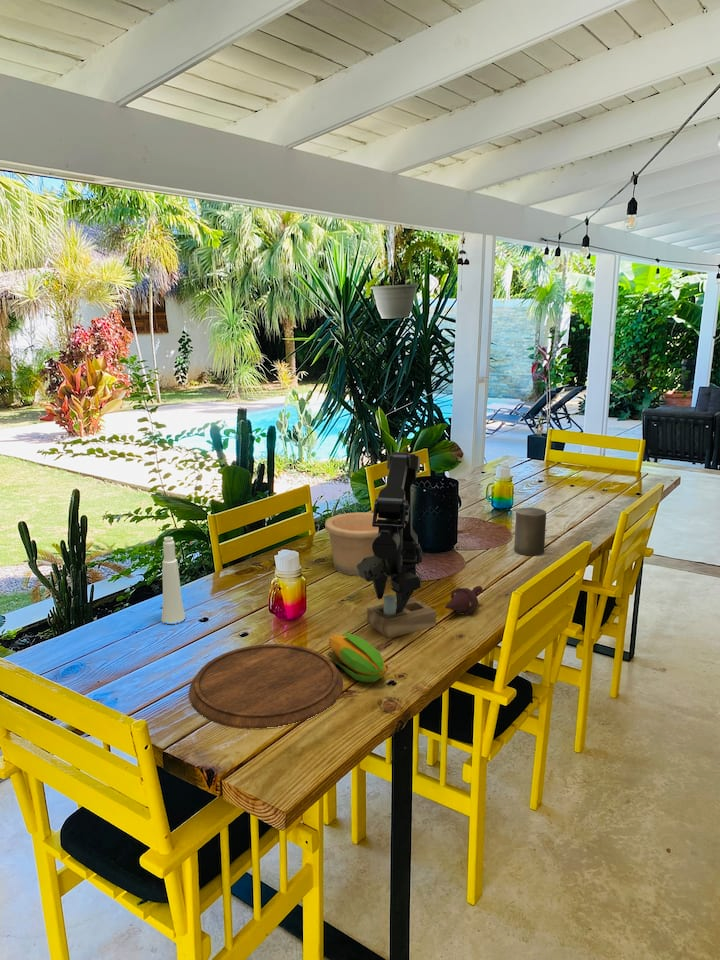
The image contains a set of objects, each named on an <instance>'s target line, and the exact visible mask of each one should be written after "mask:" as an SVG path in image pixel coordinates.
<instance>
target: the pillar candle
mask: <svg viewBox="0 0 720 960" xmlns="http://www.w3.org/2000/svg"><path fill="white" fill-rule="evenodd" d="M514 523H515V526H514V544H513V545H514V546H513V547H514V548H513V551H514V552H515V553H517V554H519V555H523V556H530V557H534V556H535V557H536V556H541V555H543V554H544V553H545V546H546V545H545V544H546V543H545V541H546V525H547V511H546V510H544V509H543V508H542V509H541V508H537V507H536V508H535V507H521V508H517V509H516V510H515V522H514Z"/></svg>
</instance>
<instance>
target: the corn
mask: <svg viewBox="0 0 720 960" xmlns="http://www.w3.org/2000/svg"><path fill="white" fill-rule="evenodd" d="M328 641H329V642H328V644H329V646H330V648H331V649H332V651H333V652H334V654H335V655H336V656H337V657H338V658H339V659H340V661H341V662H342V663H343V664H344V665H346V666H344V665H343V664H341V663H340V662H339V661H338V660H335V658H333V657H332V656H331V655H330V654H329V653H327V654H326V655H327V656H328V657H329V658H330V659H331V660H332V663H334V664H336V665H337V666H338V667H340V668H341V669H342V670H343V671H344V672H346V673H347V674H348V675H349V676H350V677H351V678H353V679H354V680H356V681H358V682H361V683H373V682H376V681H380V680H381V679H383V678H384V676H386V672H387V668H388V667H387V666H386V664H385V662H384V660H383V657H382V653H381V651H380V650H378V649H377V648H376V647H374V646H373V645H372V644H370V643H369V642H368V641H367V640H365V639H363V638H362V637H359V635H355V634H353V633H348V632H344V633H343V635H338V634H334V635H332V636H330V637H328Z"/></svg>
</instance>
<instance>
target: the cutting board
mask: <svg viewBox="0 0 720 960" xmlns="http://www.w3.org/2000/svg"><path fill="white" fill-rule="evenodd" d="M343 684H344V681H343V677H342V674H341V671H340V670H339V668H337V667H336V665H335V663H334V662H333V661H331V660H330V659H329V658H328V657H327V656H325V655H324V654H322V653H320V652H318V651H315V650H314V649H313V650H312V649H310V648H307V647H304V646H298V645H293V644H282V643H270V644H268V643H267V644H257V645H256V644H255V645H249V646H245V647H241V648H237V649H233V650H231V651H228V652H224V653H222V654H220V655H218V656H216V657H214V658H213V659H211V660H210V661H208V662H206V663H205V664H204V665H203V666H202V667H201V668H200V670H199V671H198V672H197V674H196V675H195V676H194V678H193V679H192V680H191V683H190V686H189V691H188V695H189V696H190V697H189V701H190V703H192V704H191V706H192V705H193V706H192V708H194V710H195V709H196V710H197V711H196V710H195V711H196V712H197V713H198V712H199V713H198V714H199V715H201V716H202V715H203V716H202V717H203V718H205V717H206V718H205V719H207V720H209V721H211V722H213V723H216V724H220V725H222V726H225V725H226V727H230V726H231V727H230V728H234V727H235V729H243V728H267V727H278V726H283V725H288V724H292V723H296V722H299V721H302V720H304V719H308V718H311V717H313V716H315V715H316V714H319V713H321V712H323V711H324V710H326V709H327V708H329V707H330V706H331V707H332V706H333V705H334V704H335V703H336V702H337V701H338V700H339V699H340V697H341V695H342V693H343V688H344V685H343ZM340 694H341V695H340ZM339 696H340V697H339ZM337 699H338V700H337ZM336 700H337V701H336ZM333 703H334V704H333ZM331 707H330V708H331ZM330 708H329V709H330ZM327 710H328V709H327ZM327 710H326V711H327ZM324 712H325V711H324ZM324 712H323V713H324ZM321 714H322V713H321ZM237 727H238V728H237Z"/></svg>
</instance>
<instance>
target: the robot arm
mask: <svg viewBox="0 0 720 960" xmlns="http://www.w3.org/2000/svg"><path fill="white" fill-rule="evenodd" d="M420 458H421V457H420V456H418V455H416V453H409V452H406V451H405V452H404V451H394V452H391V453H390V454H388V455H387V459H386V460H387V461H386V469H387V470H389V472H388V475H387V480H386V484H385V487H383V488H381V489H380V490H379V492H378V496H377V498H375V500H374V505H373V512H372V513H373V522H372V527H379V530H378V534H377V536H376V538H375V540H374V541H373V544H372V550H373V552H374V556H372V557H366V558H364V559H363V560H362V562H361V563H359V564H358V565H357V569H358V572H359V575H360V576H359V577H360V578H361V579H363V580H365V582H367V583H368V582H369V583H370V582H372V583H373V587H374V592H375V594H376V597H377V600H383V599H384V594H385V589H386V585H387V581H388V579H389V578H390V580H391V586H392V587H391V588H390V589H391V591H393V592H394V593H395V597H396V601H397V610H398V612H399V613H400V612H402V611H403V609H404V607H405V606H406V604H407V602H408V600H409V598H412V595H413V594H414V592H415V591H417V590H419V589H421V588H422V579H421V578H420V577H419V576H417V565H420V564H422V562H423V549H422V547H421V545H420V543H419V541H418V538H419V537H418V534H417V533H416V532H415V530H414V529H413V484H414V483H415V481H416V479H417V475H418V472H420V470H421V469H420V468H421V459H420ZM377 515H378V518H384V519H386V520H382V519H377ZM376 520H377V521H376ZM388 577H389V578H388Z"/></svg>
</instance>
